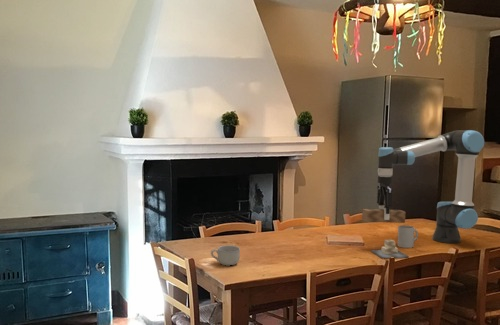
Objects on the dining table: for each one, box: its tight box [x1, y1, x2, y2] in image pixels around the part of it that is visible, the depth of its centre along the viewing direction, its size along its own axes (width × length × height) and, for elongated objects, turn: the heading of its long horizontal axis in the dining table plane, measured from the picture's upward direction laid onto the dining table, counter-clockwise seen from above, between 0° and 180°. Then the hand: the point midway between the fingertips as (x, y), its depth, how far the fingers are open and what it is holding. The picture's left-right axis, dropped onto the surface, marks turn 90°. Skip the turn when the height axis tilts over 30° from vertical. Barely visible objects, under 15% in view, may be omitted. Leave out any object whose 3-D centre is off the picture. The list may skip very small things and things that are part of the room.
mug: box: [397, 224, 419, 249], centre depth 265 cm, size 12×8×11 cm
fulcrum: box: [370, 239, 410, 260], centre depth 246 cm, size 14×14×8 cm
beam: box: [361, 208, 407, 224], centre depth 257 cm, size 22×6×6 cm, turn 99°
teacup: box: [210, 244, 241, 267], centre depth 227 cm, size 14×11×8 cm
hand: (383, 218), depth 257 cm, fingers closed on beam, 6 cm apart
